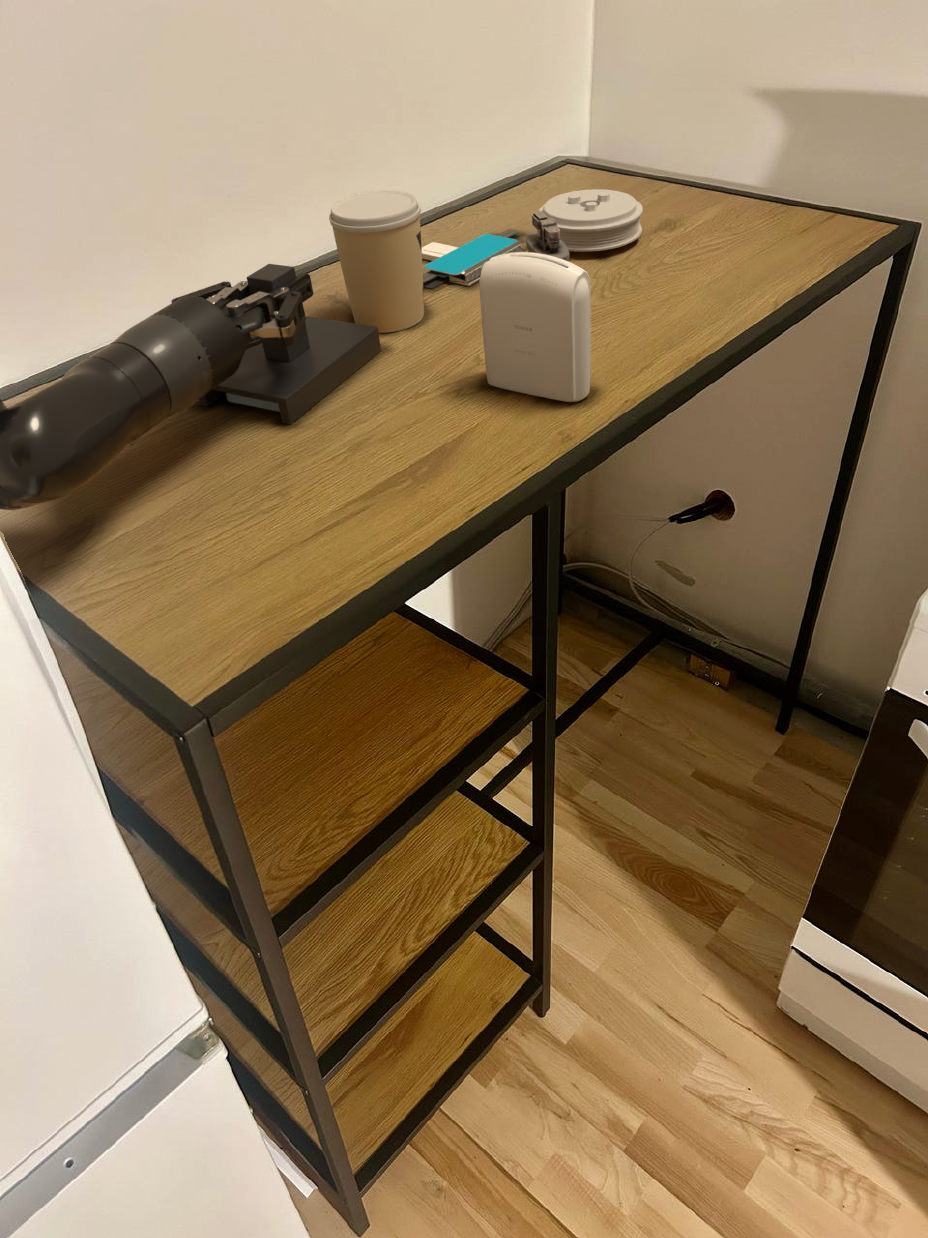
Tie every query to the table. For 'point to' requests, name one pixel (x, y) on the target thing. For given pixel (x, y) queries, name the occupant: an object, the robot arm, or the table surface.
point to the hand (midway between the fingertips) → (292, 281)
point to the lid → (595, 219)
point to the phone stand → (465, 258)
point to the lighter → (546, 237)
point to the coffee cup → (381, 257)
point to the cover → (298, 357)
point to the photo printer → (537, 325)
